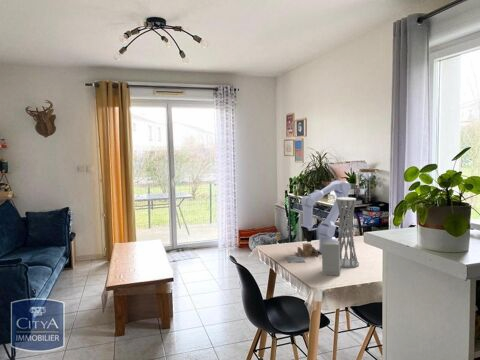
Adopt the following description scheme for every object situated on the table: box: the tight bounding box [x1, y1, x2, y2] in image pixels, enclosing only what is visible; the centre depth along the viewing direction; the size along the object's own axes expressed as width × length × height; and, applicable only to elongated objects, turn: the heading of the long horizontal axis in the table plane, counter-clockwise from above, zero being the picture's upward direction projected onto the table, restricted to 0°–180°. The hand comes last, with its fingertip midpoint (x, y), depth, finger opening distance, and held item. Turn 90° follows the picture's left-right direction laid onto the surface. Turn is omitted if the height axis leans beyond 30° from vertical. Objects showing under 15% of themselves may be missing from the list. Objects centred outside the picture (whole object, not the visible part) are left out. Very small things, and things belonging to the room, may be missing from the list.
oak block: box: [302, 242, 313, 257], centre depth 205 cm, size 4×4×6 cm
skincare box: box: [321, 240, 341, 277], centre depth 172 cm, size 8×7×16 cm
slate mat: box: [285, 256, 306, 264], centre depth 195 cm, size 9×9×1 cm
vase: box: [336, 196, 360, 269], centre depth 185 cm, size 14×13×35 cm
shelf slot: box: [297, 246, 319, 258], centre depth 205 cm, size 10×10×3 cm
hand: (307, 240), depth 204 cm, fingers open, 7 cm apart
